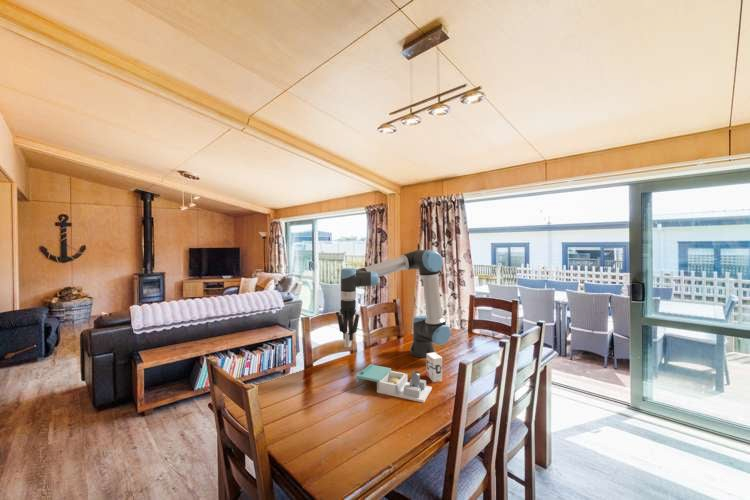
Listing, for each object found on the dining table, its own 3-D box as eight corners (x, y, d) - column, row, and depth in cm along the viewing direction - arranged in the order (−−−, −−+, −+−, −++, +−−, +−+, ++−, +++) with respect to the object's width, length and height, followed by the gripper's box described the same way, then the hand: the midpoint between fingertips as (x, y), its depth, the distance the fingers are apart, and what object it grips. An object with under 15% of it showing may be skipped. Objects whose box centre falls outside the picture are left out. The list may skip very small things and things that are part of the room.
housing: (388, 380, 156) (388, 370, 156) (431, 388, 147) (432, 378, 147) (376, 392, 144) (376, 381, 143) (423, 402, 134) (423, 391, 134)
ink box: (425, 375, 162) (425, 352, 162) (434, 374, 164) (434, 351, 163) (433, 382, 154) (433, 358, 154) (442, 381, 156) (442, 357, 155)
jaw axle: (412, 390, 146) (412, 370, 146) (420, 391, 144) (420, 372, 144) (409, 393, 142) (409, 374, 142) (418, 395, 141) (418, 375, 141)
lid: (369, 370, 161) (370, 362, 161) (391, 374, 156) (391, 365, 156) (356, 381, 147) (356, 372, 147) (379, 386, 143) (379, 377, 142)
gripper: (332, 299, 156) (332, 346, 157) (357, 301, 150) (356, 350, 151) (339, 297, 163) (339, 342, 164) (364, 299, 157) (363, 346, 158)
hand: (348, 346), depth 157 cm, fingers closed
